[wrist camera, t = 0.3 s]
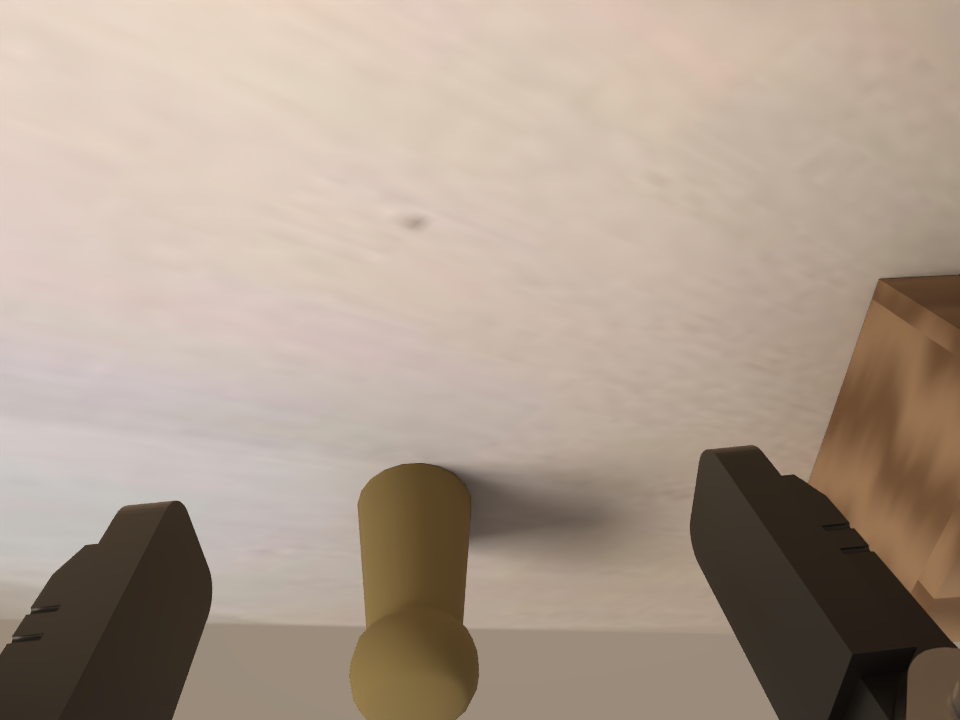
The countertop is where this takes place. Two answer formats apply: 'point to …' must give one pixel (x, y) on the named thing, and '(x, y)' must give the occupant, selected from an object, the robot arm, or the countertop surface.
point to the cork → (414, 597)
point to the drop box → (904, 440)
